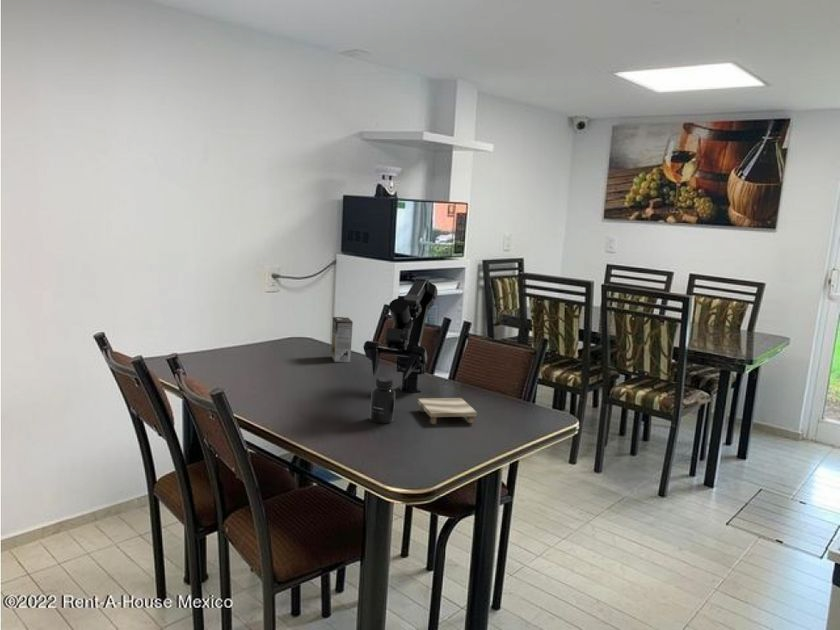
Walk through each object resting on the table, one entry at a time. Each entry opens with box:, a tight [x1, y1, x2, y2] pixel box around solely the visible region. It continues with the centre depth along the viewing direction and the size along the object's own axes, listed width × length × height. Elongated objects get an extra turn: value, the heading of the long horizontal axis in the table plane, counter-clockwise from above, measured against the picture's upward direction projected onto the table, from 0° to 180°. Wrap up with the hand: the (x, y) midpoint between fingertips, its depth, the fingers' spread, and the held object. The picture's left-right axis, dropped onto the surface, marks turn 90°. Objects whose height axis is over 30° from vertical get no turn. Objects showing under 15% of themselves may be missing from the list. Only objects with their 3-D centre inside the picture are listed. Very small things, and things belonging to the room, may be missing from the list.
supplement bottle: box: [369, 377, 396, 425], centre depth 182 cm, size 7×7×12 cm
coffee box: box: [331, 316, 354, 363], centre depth 250 cm, size 9×6×16 cm
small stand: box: [417, 397, 478, 425], centre depth 190 cm, size 14×14×4 cm
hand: (388, 376), depth 186 cm, fingers open, 9 cm apart
